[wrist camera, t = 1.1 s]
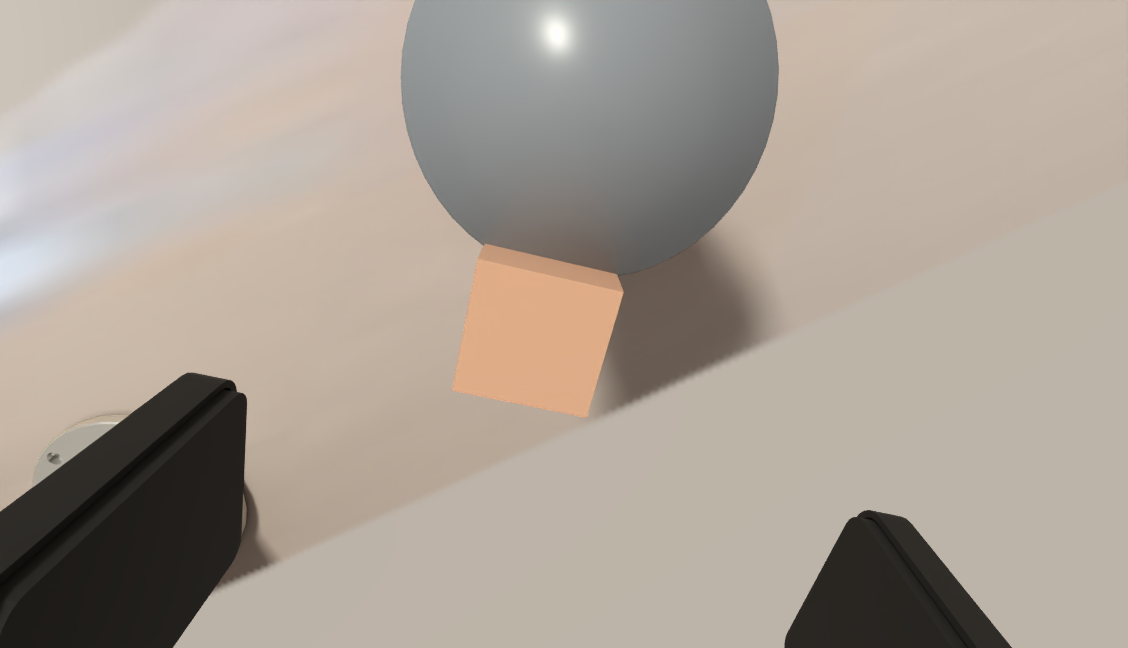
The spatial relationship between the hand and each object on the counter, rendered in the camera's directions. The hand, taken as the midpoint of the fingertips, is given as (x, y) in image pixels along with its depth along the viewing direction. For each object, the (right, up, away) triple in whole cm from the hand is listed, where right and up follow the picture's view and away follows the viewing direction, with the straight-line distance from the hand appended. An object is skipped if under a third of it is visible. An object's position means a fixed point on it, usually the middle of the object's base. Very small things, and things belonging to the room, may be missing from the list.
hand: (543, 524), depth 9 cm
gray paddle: (+1, +8, +8) cm, 11 cm away
